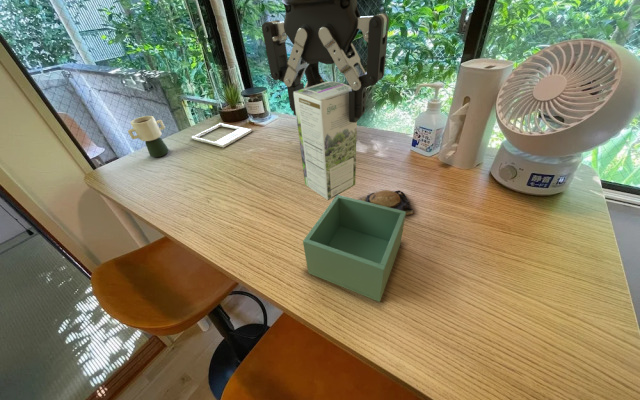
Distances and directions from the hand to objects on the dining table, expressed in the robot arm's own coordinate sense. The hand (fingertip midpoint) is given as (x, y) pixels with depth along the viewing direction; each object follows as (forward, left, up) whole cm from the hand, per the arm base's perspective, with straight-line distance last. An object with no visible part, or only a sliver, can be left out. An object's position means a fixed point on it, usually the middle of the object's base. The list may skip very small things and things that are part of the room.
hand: (326, 116), depth 33 cm
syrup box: (0, 0, -11) cm, 11 cm away
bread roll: (+18, -5, -28) cm, 34 cm away
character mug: (+16, +77, -28) cm, 83 cm away
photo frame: (+36, +66, -28) cm, 80 cm away
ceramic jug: (+44, +26, -28) cm, 58 cm away
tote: (+1, -4, -28) cm, 28 cm away
